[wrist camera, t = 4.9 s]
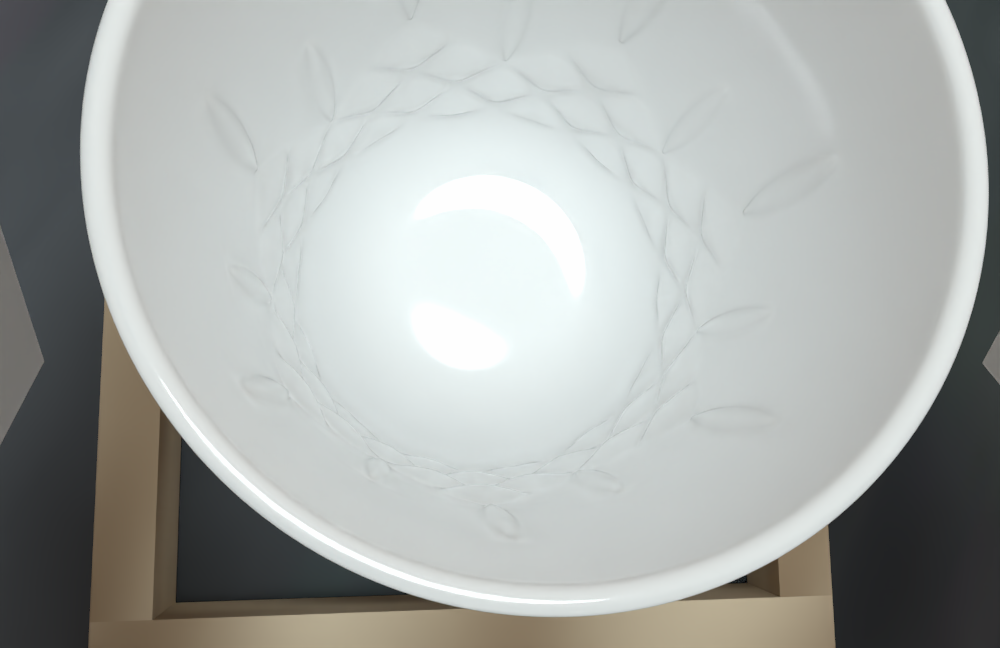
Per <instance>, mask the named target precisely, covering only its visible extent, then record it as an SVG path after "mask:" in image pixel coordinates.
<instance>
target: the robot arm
mask: <svg viewBox="0 0 1000 648" xmlns="http://www.w3.org/2000/svg"><path fill="white" fill-rule="evenodd" d="M43 363H44V359H43V356H42V353H41V350H40V347H39V344H38V341H37V337H36V334H35V331H34V328H33V325H32V322H31V319H30V316H29V313H28V310H27V307H26V304H25V300H24V297H23V294H22V291H21V288H20V285H19V282H18V279H17V276H16V273H15V270H14V267H13V263H12V260H11V257H10V254H9V251H8V248H7V245H6V242H5V239H4V236H3V233H2V230H1V226H0V445H1V443H2V441H3V439H4V437H5V435H6V433H7V431H8V429H9V427H10V426H11V424H12V422H13V420H14V418H15V416H16V414H17V412H18V410H19V408H20V406H21V405H22V403H23V401H24V399H25V397H26V395H27V393H28V391H29V389H30V387H31V385H32V384H33V382H34V380H35V378H36V376H37V374H38V372H39V370H40V368H41V366H42V365H43ZM983 365H984V366H985V367H986V368H987V370H988V371H989V372H990V373H991V374H992V376H993V377H994V378H995V379H996V380H997V382H998V383H999V384H1000V331H999V333H998V335H997V337H996V339H995V340H994V342H993V344H992V346H991V348H990V350H989V352H988V353H987V355H986V357H985V359H984V361H983Z"/></svg>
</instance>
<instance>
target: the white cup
mask: <svg viewBox="0 0 1000 648" xmlns="http://www.w3.org/2000/svg"><path fill="white" fill-rule="evenodd" d="M80 170H81V187H82V198H83V206H84V214H85V220H86V227H87V232H88V237H89V242H90V247H91V251H92V256H93V260H94V264H95V267H96V271H97V275H98V278H99V281H100V285H101V288H102V291H103V294H104V297H105V300H106V302H107V305H108V308H109V311H110V313H111V316H112V318H113V321H114V323H115V326H116V328H117V330H118V333H119V335H120V337H121V339H122V341H123V344H124V346H125V348H126V350H127V352H128V354H129V356H130V358H131V360H132V362H133V363H134V365H135V367H136V369H137V371H138V373H139V374H140V376H141V378H142V380H143V381H144V383H145V385H146V386H147V388H148V390H149V391H150V393H151V394H152V396H153V398H154V399H155V401H156V402H157V404H158V405H159V407H160V408H161V410H162V411H163V412H164V414H165V415H166V417H167V418H168V420H169V421H170V422H171V424H172V425H173V426H174V428H175V429H176V430H177V432H178V433H179V434H180V435H181V437H182V438H183V439H184V440H185V442H186V443H187V444H188V445H189V446H190V448H191V449H192V450H193V451H194V452H195V453H196V455H197V456H198V457H199V458H200V459H201V460H202V461H203V462H204V463H205V465H206V466H207V467H208V468H209V469H210V470H211V471H212V472H213V473H214V474H215V475H216V476H217V477H218V478H219V479H220V480H221V481H222V482H223V483H224V484H225V485H226V486H227V487H228V488H229V489H231V490H232V491H233V492H234V493H235V494H236V495H237V496H238V497H239V498H241V499H242V500H243V501H244V502H245V503H246V504H248V505H249V506H250V507H251V508H252V509H254V510H255V511H256V512H257V513H259V514H260V515H261V516H262V517H264V518H265V519H266V520H268V521H269V522H270V523H272V524H273V525H274V526H276V527H277V528H279V529H280V530H281V531H283V532H284V533H286V534H287V535H289V536H290V537H292V538H293V539H295V540H296V541H298V542H299V543H301V544H303V545H304V546H306V547H307V548H309V549H311V550H312V551H314V552H316V553H318V554H319V555H321V556H323V557H325V558H326V559H328V560H330V561H332V562H334V563H336V564H338V565H340V566H342V567H344V568H346V569H348V570H350V571H352V572H354V573H356V574H358V575H361V576H363V577H365V578H367V579H370V580H372V581H374V582H377V583H379V584H382V585H385V586H387V587H390V588H393V589H395V590H398V591H401V592H404V593H407V594H410V595H413V596H416V597H420V598H423V599H427V600H430V601H434V602H438V603H442V604H446V605H450V606H455V607H459V608H464V609H469V610H475V611H481V612H488V613H495V614H504V615H514V616H528V617H582V616H596V615H606V614H614V613H621V612H628V611H634V610H639V609H645V608H649V607H654V606H658V605H662V604H666V603H670V602H674V601H678V600H681V599H685V598H688V597H691V596H694V595H697V594H700V593H703V592H706V591H709V590H711V589H714V588H717V587H719V586H722V585H724V584H727V583H729V582H732V581H734V580H736V579H738V578H741V577H743V576H745V575H747V574H749V573H751V572H753V571H755V570H757V569H759V568H761V567H763V566H765V565H767V564H769V563H770V562H772V561H774V560H776V559H778V558H779V557H781V556H783V555H784V554H786V553H788V552H789V551H791V550H792V549H794V548H796V547H797V546H799V545H800V544H802V543H803V542H805V541H806V540H808V539H809V538H810V537H812V536H813V535H815V534H816V533H817V532H819V531H820V530H821V529H823V528H824V527H825V526H827V525H828V524H829V523H830V522H832V521H833V520H834V519H835V518H837V517H838V516H839V515H840V514H841V513H843V512H844V511H845V510H846V509H847V508H848V507H849V506H850V505H852V504H853V503H854V502H855V501H856V500H857V499H858V498H859V497H860V496H861V495H862V494H863V493H864V492H865V491H866V490H867V489H868V488H869V487H870V486H871V485H872V484H873V483H874V482H875V481H876V480H877V479H878V478H879V476H880V475H881V474H882V473H883V472H884V471H885V470H886V469H887V467H888V466H889V465H890V464H891V463H892V461H893V460H894V459H895V458H896V456H897V455H898V454H899V453H900V451H901V450H902V449H903V448H904V446H905V445H906V444H907V442H908V441H909V439H910V438H911V437H912V435H913V434H914V432H915V431H916V429H917V428H918V426H919V425H920V423H921V422H922V420H923V419H924V417H925V416H926V414H927V412H928V411H929V409H930V407H931V406H932V404H933V402H934V400H935V399H936V397H937V395H938V393H939V391H940V389H941V387H942V385H943V384H944V382H945V380H946V378H947V375H948V373H949V371H950V369H951V367H952V365H953V362H954V360H955V358H956V355H957V353H958V350H959V348H960V345H961V342H962V340H963V337H964V334H965V331H966V328H967V325H968V322H969V319H970V316H971V313H972V309H973V305H974V302H975V298H976V294H977V290H978V285H979V280H980V276H981V270H982V265H983V258H984V252H985V244H986V235H987V223H988V200H989V183H988V162H987V150H986V140H985V133H984V126H983V120H982V114H981V108H980V103H979V99H978V94H977V90H976V86H975V82H974V78H973V74H972V70H971V67H970V64H969V60H968V57H967V54H966V51H965V48H964V45H963V42H962V39H961V37H960V34H959V31H958V29H957V26H956V24H955V21H954V19H953V16H952V14H951V12H950V10H949V7H948V5H947V3H946V1H945V0H108V1H107V4H106V7H105V9H104V12H103V15H102V18H101V21H100V24H99V28H98V31H97V34H96V38H95V42H94V45H93V49H92V53H91V58H90V62H89V67H88V72H87V78H86V83H85V90H84V97H83V106H82V117H81V133H80Z"/></svg>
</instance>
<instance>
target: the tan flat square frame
mask: <svg viewBox="0 0 1000 648" xmlns="http://www.w3.org/2000/svg"><path fill="white" fill-rule="evenodd" d="M180 461H181V435H180V434H179V433H178V432H177V430H176V429H175V428H174V426H173V425H172V424H171V422H170V421H169V420H168V418H167V417H166V415H165V414H164V412H163V411H162V410H161V408H160V407H159V405H158V404H157V402H156V401H155V399H154V398H153V396H152V394H151V393H150V391H149V390H148V388H147V386H146V385H145V383H144V381H143V380H142V378H141V376H140V374H139V373H138V371H137V369H136V367H135V365H134V363H133V362H132V360H131V358H130V356H129V354H128V352H127V350H126V348H125V346H124V344H123V341H122V339H121V337H120V335H119V333H118V330H117V328H116V326H115V323H114V321H113V318H112V316H111V313H110V311H109V308H108V305H107V302H106V300H105V303H104V324H103V346H102V367H101V389H100V410H99V431H98V453H97V474H96V495H95V517H94V538H93V560H92V581H91V602H90V624H89V645H88V648H835V632H834V615H833V599H832V582H831V565H830V549H829V532H828V525H827V526H825V527H824V528H823V529H821V530H820V531H819V532H817V533H816V534H815V535H813V536H812V537H810V538H809V539H808V540H806V541H805V542H803V543H802V544H800V545H799V546H797V547H796V548H794V549H792V550H791V551H789V552H788V553H786V554H784V555H783V556H781V557H779V558H778V559H776V560H774V561H772V562H770V563H769V564H767V565H765V566H763V567H761V568H759V569H757V570H755V571H753V572H751V573H749V574H747V583H735V584H724V585H722V586H719V587H717V588H714V589H711V590H709V591H706V592H703V593H700V594H697V595H694V596H691V597H688V598H685V599H681V600H678V601H674V602H670V603H666V604H662V605H658V606H654V607H649V608H645V609H639V610H634V611H628V612H621V613H614V614H606V615H596V616H582V617H528V616H514V615H504V614H495V613H488V612H481V611H475V610H469V609H464V608H459V607H455V606H450V605H446V604H442V603H438V602H434V601H430V600H427V599H423V598H420V597H416V596H413V595H385V596H355V597H326V598H297V599H268V600H239V601H210V602H180V603H176V577H177V548H178V519H179V490H180Z"/></svg>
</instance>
